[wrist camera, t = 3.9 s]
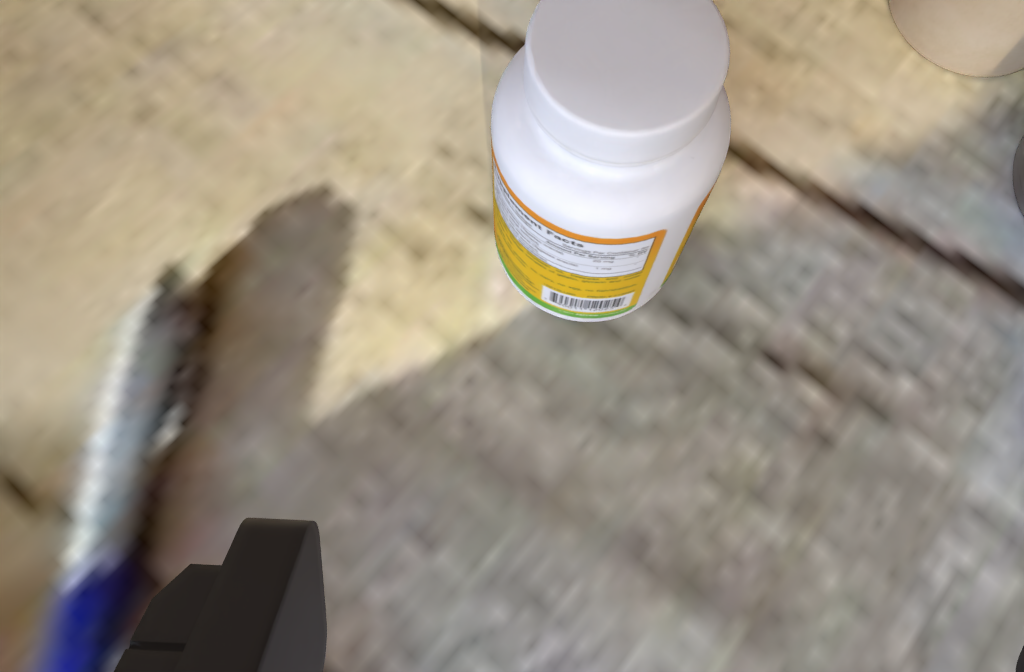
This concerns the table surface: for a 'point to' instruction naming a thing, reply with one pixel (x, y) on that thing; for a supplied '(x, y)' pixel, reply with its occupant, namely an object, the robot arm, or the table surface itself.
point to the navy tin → (1019, 175)
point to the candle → (965, 33)
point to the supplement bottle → (607, 149)
